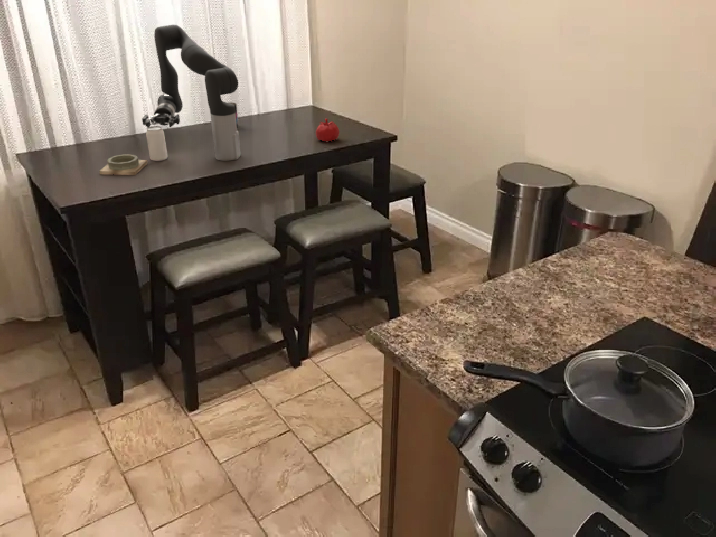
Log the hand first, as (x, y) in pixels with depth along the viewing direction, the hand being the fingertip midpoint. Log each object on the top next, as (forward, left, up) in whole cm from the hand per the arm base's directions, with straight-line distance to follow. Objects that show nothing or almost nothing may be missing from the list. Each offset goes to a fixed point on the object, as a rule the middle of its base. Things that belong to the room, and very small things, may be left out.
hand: (158, 124), depth 241 cm
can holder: (+7, +23, -10) cm, 26 cm away
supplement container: (-20, -34, -10) cm, 41 cm away
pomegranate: (-65, -17, -10) cm, 68 cm away
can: (-2, +11, -10) cm, 15 cm away
